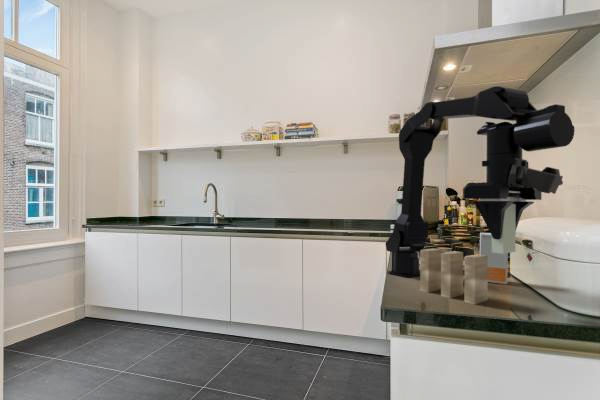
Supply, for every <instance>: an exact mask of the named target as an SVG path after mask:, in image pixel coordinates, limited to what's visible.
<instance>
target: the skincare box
mask: <svg viewBox="0 0 600 400" xmlns="http://www.w3.org/2000/svg"><path fill="white" fill-rule="evenodd" d="M479 255H487V256H488V269H487V283H494V284H499V285H501V284H502V285H507V284H508V273H509V272H508V271H509V270H508V264H509V263H508V262H509V260H508V259H509V253H505V254H501V253H493V252H492V235H491V233H490V232H480V233H479Z"/></svg>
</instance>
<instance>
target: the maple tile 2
mask: <svg viewBox="0 0 600 400" xmlns="http://www.w3.org/2000/svg"><path fill="white" fill-rule="evenodd" d="M463 295H464V252H463V251H458V250H457V251H455V250H453V251H446V252H441V289H440V297H444V298H447V299H452V298H456V297H460V296H463Z"/></svg>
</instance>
